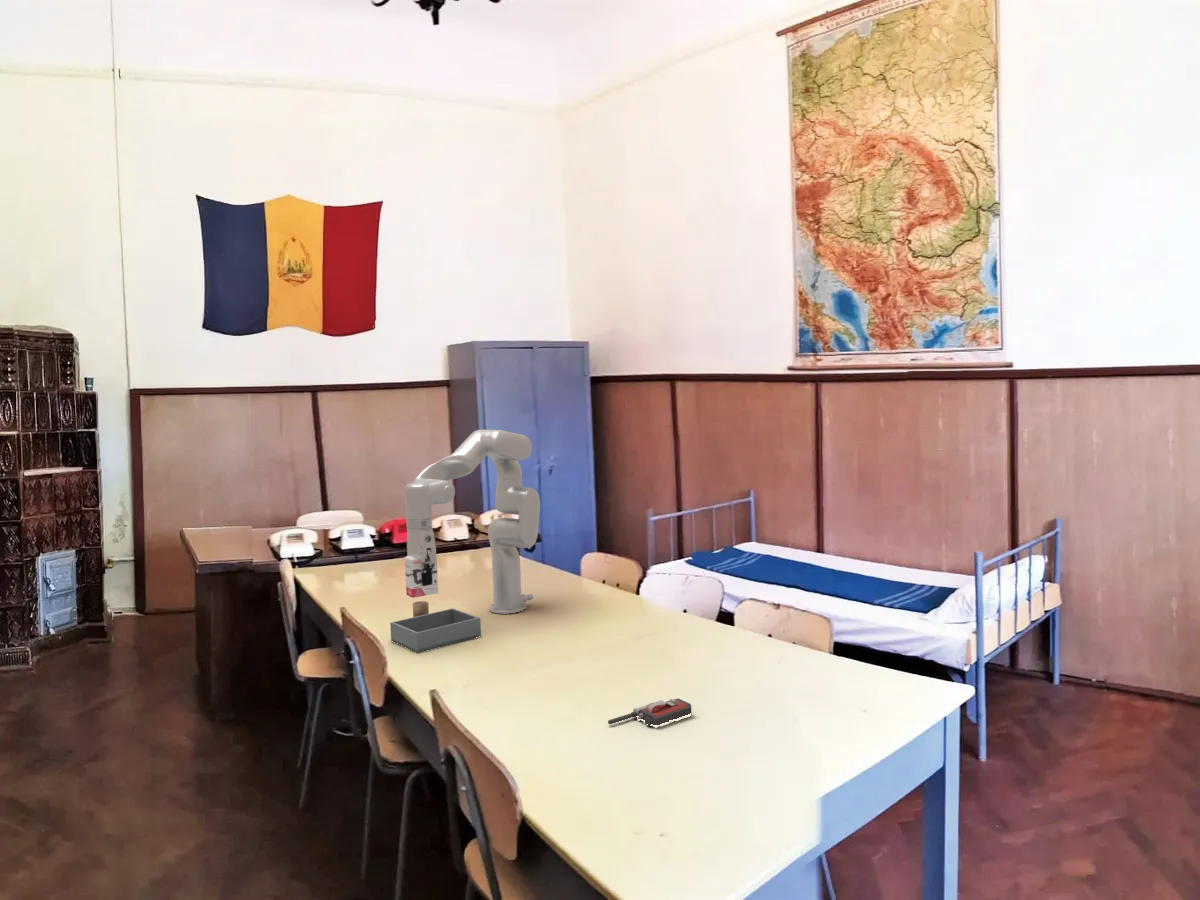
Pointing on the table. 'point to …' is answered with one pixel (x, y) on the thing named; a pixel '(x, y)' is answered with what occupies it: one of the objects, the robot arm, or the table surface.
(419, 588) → the ink box
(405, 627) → the tote
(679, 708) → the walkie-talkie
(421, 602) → the walnut cylinder
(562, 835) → the table surface
